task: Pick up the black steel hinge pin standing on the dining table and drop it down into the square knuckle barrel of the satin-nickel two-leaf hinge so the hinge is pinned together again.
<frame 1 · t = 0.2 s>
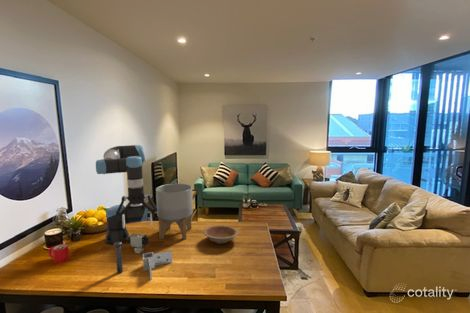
hand: (138, 225, 137), 27 cm above the table, fingers open, 13 cm apart
mug: (58, 259, 155), on the table
hinge leaves: (148, 266, 147), on the table
pin: (119, 272, 142), on the table
bowl: (221, 241, 177), on the table
pneumatic valve: (139, 252, 164), on the table
planter: (176, 233, 189), on the table
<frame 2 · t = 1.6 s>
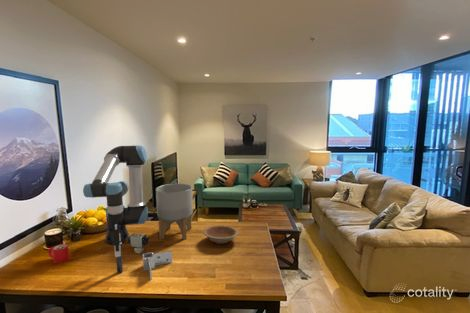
hand: (118, 250, 140), 13 cm above the table, fingers open, 13 cm apart
nothing on the table moved.
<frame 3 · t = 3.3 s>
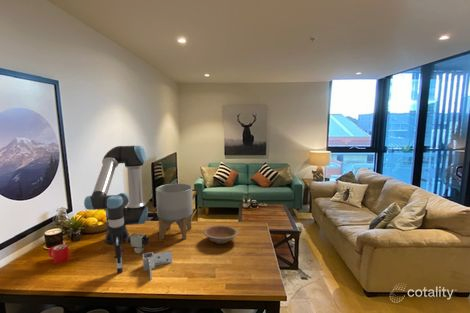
hand: (119, 266, 142), 4 cm above the table, fingers closed on pin, 3 cm apart
pin: (119, 272, 142), on the table, touching gripper
everything else where it was.
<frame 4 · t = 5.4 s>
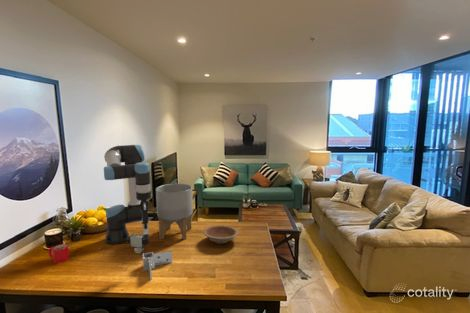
hand: (145, 232, 144), 21 cm above the table, fingers closed on pin, 3 cm apart
pin: (146, 238, 144), point 17 cm above the table, touching gripper
everything else where it was.
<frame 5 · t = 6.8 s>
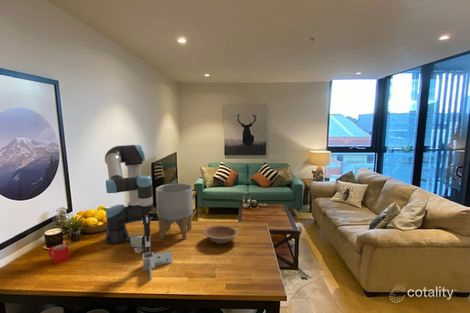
hand: (147, 244, 145), 13 cm above the table, fingers closed on pin, 3 cm apart
pin: (148, 250, 145), point 10 cm above the table, touching gripper
everything else where it was.
when the fingers open (9 cm above the table, at t = 7.8 s): pin drops 5 cm, resting in hinge leaves.
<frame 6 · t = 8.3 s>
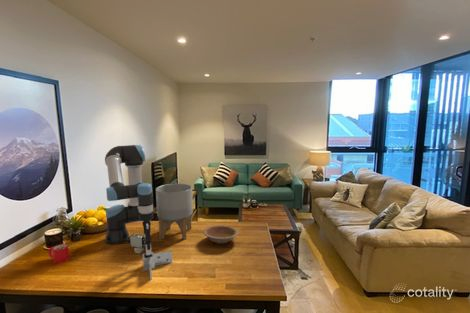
hand: (147, 249, 145), 10 cm above the table, fingers open, 11 cm apart
pin: (148, 267, 147), resting in hinge leaves
everything else where it was.
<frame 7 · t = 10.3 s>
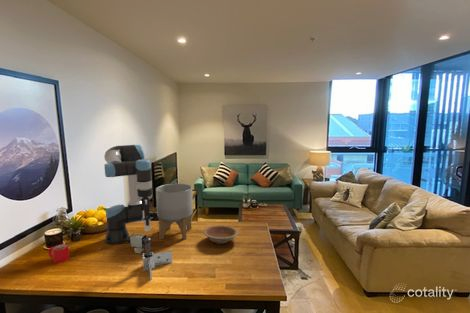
hand: (146, 225, 143), 24 cm above the table, fingers open, 13 cm apart
nothing on the table moved.
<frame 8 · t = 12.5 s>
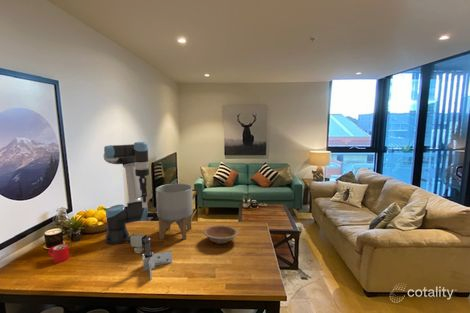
hand: (144, 203, 155), 33 cm above the table, fingers open, 13 cm apart
nothing on the table moved.
at the end: pin 0.1 cm off-centre on the hinge leaves, point 0.0 cm above the hinge leaves's base; pin tilted 0°; the gripper is holding nothing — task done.
